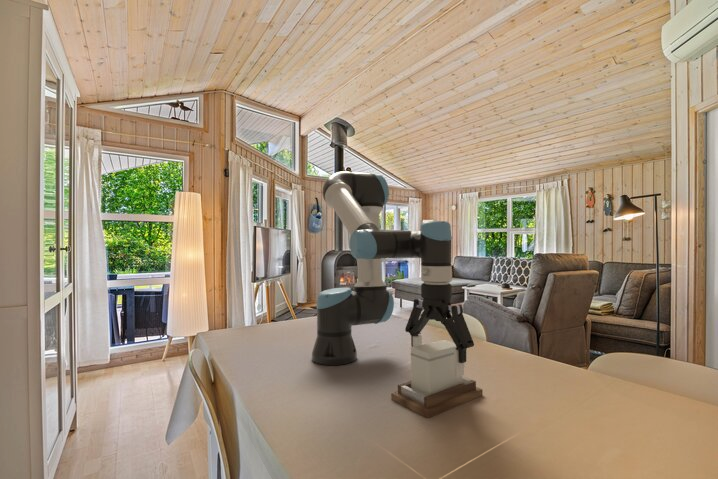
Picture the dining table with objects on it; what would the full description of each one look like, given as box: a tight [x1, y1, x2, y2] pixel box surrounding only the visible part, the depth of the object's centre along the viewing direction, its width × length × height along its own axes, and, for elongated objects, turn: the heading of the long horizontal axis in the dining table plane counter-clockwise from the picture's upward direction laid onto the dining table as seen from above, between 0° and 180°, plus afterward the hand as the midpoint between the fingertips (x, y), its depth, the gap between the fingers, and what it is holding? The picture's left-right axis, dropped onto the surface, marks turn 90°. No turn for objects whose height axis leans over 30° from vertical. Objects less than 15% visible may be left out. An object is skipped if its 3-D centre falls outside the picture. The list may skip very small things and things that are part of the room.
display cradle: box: [390, 375, 484, 419], centre depth 89 cm, size 12×20×4 cm, turn 126°
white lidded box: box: [410, 339, 462, 396], centre depth 89 cm, size 6×12×11 cm, turn 126°
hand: (437, 367), depth 89 cm, fingers open, 13 cm apart
